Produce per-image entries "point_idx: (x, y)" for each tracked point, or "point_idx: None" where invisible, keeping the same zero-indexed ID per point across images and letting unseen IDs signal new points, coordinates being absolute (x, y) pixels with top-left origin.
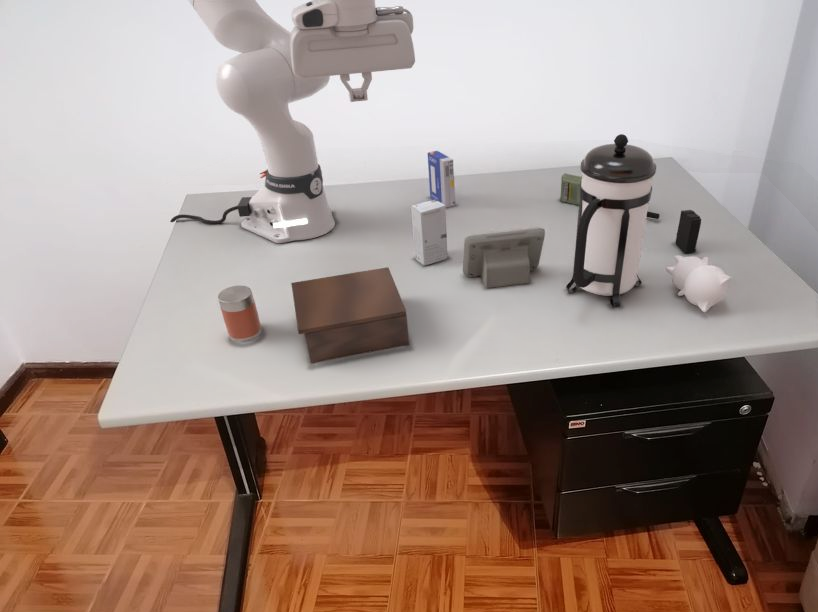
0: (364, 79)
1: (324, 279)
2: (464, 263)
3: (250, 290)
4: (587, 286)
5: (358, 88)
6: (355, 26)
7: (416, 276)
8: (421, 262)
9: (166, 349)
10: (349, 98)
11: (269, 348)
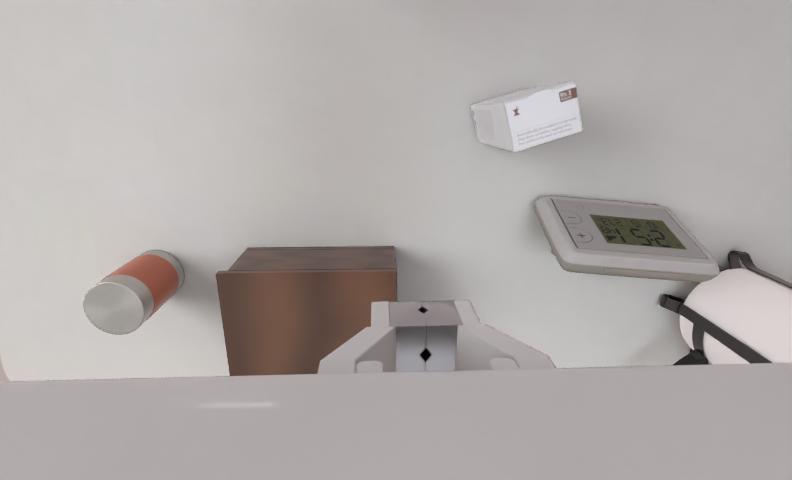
0: (497, 355)
1: (276, 280)
2: (541, 225)
3: (141, 306)
4: (686, 339)
5: (437, 332)
6: None
7: (454, 174)
8: (476, 133)
9: (36, 270)
10: (371, 303)
11: (198, 310)
